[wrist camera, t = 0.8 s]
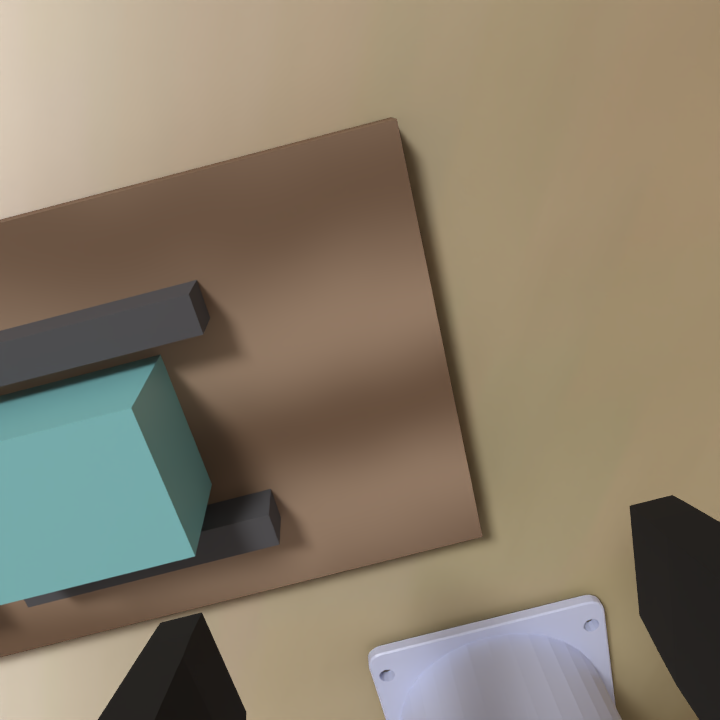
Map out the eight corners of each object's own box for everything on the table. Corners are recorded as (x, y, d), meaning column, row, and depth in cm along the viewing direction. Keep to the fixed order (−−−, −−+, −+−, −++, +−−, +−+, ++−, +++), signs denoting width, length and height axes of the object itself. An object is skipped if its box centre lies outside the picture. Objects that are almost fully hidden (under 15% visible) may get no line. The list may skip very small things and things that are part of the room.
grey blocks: (280, 517, 18) (279, 544, 17) (44, 576, 19) (28, 607, 17) (197, 280, 16) (188, 293, 15) (-81, 351, 16) (-110, 371, 15)
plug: (211, 484, 18) (194, 556, 15) (37, 528, 18) (-11, 608, 15) (160, 354, 16) (130, 408, 14) (-31, 403, 16) (-99, 466, 14)
